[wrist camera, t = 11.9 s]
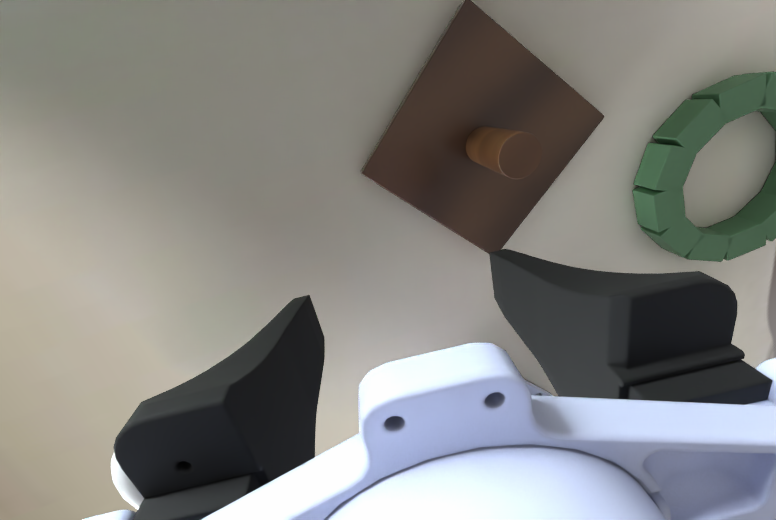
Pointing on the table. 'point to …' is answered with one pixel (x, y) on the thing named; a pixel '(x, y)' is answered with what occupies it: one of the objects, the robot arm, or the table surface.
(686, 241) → the ring
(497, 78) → the post
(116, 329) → the table surface
